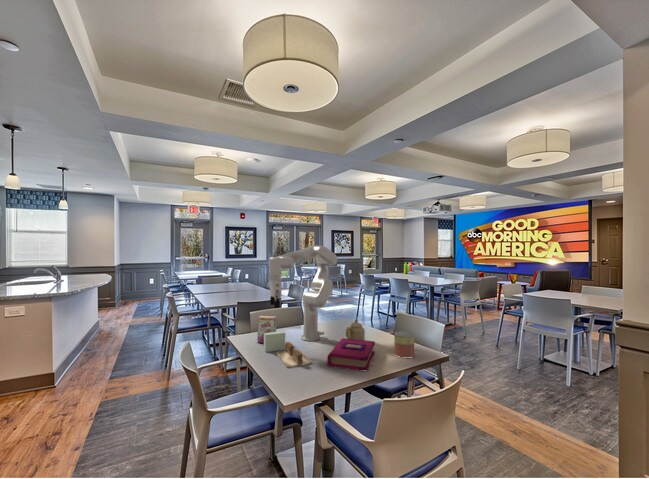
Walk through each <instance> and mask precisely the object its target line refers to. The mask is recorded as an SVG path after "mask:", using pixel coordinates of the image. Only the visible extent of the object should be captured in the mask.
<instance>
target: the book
mask: <svg viewBox="0 0 649 479" xmlns="http://www.w3.org/2000/svg"><path fill="white" fill-rule="evenodd" d="M375 343H376V342H375V341H373V340H365V339H364V340H354V339H348V338H344V337H343V338H341V339H340V340H339V342H338V343H337V344H336V345H335V347H334V348H333V349H331V351H330V352H329V353H328V355H327V356H326V357H327V360H326V363H327V366H328V367H333V368H341V369H346V368H348V370H354V369H358V370H357V371H360V370H369V369H368V368H370V364H371V363H372V360H373V358H372V357H374V356H375V354H376V352H375V350H373V348H374V347H375V345H376V344H375ZM374 353H375V354H374ZM370 362H371V363H370Z"/></svg>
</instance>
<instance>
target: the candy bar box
mask: <svg viewBox="0 0 649 479" xmlns="http://www.w3.org/2000/svg"><path fill="white" fill-rule="evenodd" d="M270 332H277V316H270V315H268V316H267V315H260V316H258V317H257V344H259V343H260V344H264V333H270Z"/></svg>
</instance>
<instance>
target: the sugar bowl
mask: <svg viewBox="0 0 649 479" xmlns="http://www.w3.org/2000/svg"><path fill="white" fill-rule="evenodd" d="M358 320H359V319H357V318H355V319H354V322H352V323H351V324H349V327H347V328H346V330H345V337H346V339H354V340H364V341H365V336H366V333H365V330H366V329H365V327H363V326H364V325H363V324H361V323H359V322H358Z"/></svg>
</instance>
